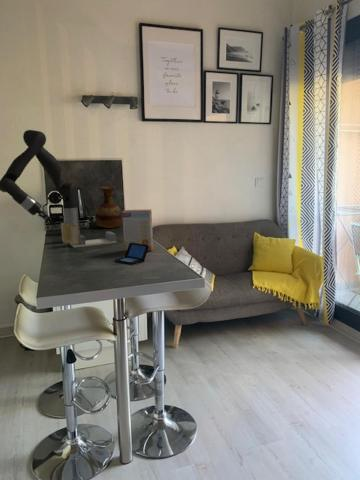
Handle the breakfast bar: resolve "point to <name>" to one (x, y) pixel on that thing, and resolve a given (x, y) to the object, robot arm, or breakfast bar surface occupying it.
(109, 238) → the vise
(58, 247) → the breakfast bar surface
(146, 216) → the cracker box
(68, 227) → the brass block
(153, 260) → the breakfast bar surface
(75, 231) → the sliding jaw
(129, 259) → the handheld game console
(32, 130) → the robot arm
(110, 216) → the brown vase
